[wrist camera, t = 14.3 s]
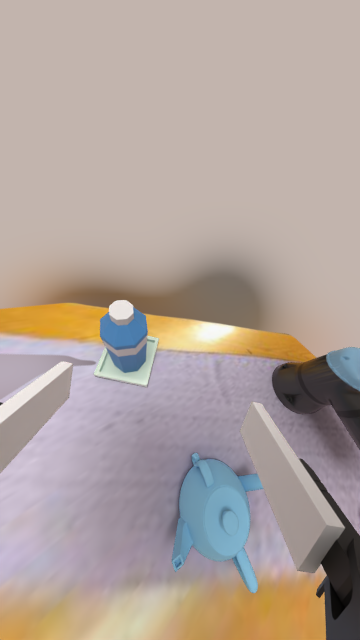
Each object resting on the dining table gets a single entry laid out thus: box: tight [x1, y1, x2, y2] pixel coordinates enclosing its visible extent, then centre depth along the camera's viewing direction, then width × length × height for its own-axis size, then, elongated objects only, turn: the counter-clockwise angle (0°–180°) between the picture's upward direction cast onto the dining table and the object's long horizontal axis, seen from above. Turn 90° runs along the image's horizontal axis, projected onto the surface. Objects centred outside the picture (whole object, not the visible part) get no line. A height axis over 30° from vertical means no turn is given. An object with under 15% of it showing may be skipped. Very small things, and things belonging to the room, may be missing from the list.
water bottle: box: [100, 300, 148, 373], centre depth 40 cm, size 9×9×25 cm
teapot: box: [172, 453, 264, 593], centre depth 34 cm, size 15×17×11 cm
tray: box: [94, 336, 159, 387], centre depth 50 cm, size 14×14×2 cm
